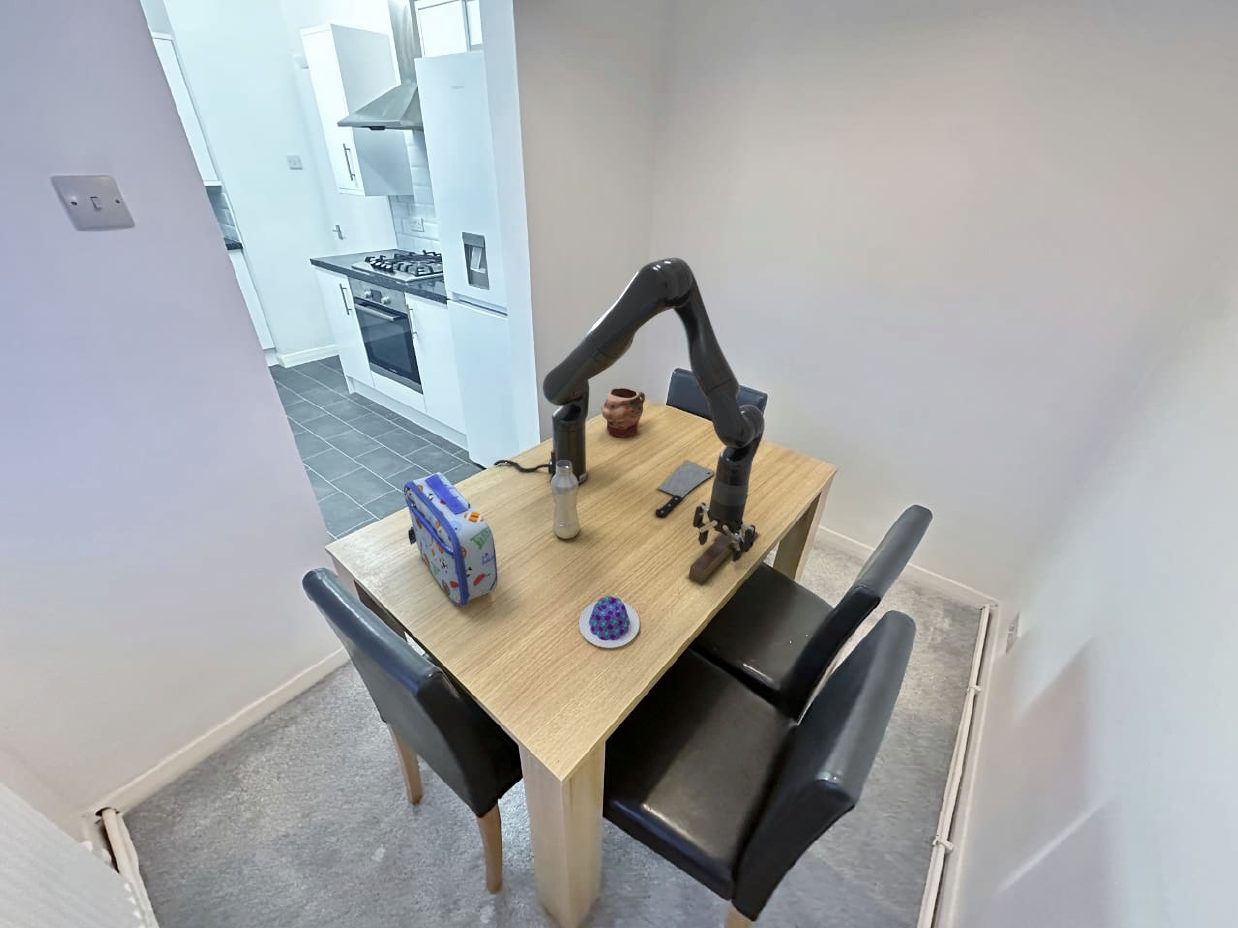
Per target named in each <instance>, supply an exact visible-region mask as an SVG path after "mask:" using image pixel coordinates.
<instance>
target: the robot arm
mask: <svg viewBox="0 0 1238 928" xmlns="http://www.w3.org/2000/svg"><path fill="white" fill-rule="evenodd" d="M669 310H673V311H674V313H675V315H676V316H677V317H678V319H679V321H680V323H681V325H682V327H683V331H684V334H685V338H686V339H685V341H686V346H687V354H688V355H687V356H688V362H689V366H690V369H691V372H692V375H693V377H694V379H695V381H696V383H697V385H698V387H699V389H700V391H701V393H702V394H703V397H704V398H705V400H706V401H707V406H708V411H709V415H710V418H711V422H712V426H713V428H714V429H713V430H714V432H715V434H716V436H717V438H718V440H720V442H721V443H722V444H723V445H724V446H725V447H724V448H723V449H722V450H721V452H720V454H719V455H718V458H717V464H716V469H715V476H714V479H713V482H712V488H711V494H710V500H709V507H708V506H707V504H706V502H703V501H702V502H701V503H699V504H698V505H697V506H696V507H695V511H694V516H693V520H692V527H693V528H697V529H698V531H699V532H698V539H697V540H698V542H699V545H700V546H704V545H705V544H706V543H707V542H708V536H709V532H710V531H709V530H711V529H714V531H715V532H717V533H722V534H723V535H725V536H727V535H728V537H729V540H730V542H732V543H733V544H734V547H735V549H734V550H733V554H732V558H731V561H732V562H733V563H736V562H739V560H740V559H741V558H742V557H743V552H744V553H748V552H749V551H750V550H751V549H752V548H754V547H753V546H754V541H755V538H754V536H755V532H756V525H754V524H751V525H748V524H745V523H744V521H743V518H744V514H745V509H746V505H747V500H748V497H749V489H750V477H751V473H752V469H753V462H754V459H755V456H756V454H757V452H758V449H759V447H760V445H761V441H762V438H763V436H764V432H765V427H766V425H765V416H764V414H763V412H762V411H761V410H760V409H759V407H757V406H756V405H752V404H743V405H740V406H739V402H738V399H737V396H738V395H739V393H740V391H741V386H740V385H741V384H740V383H739V381H738V379H737V377H736V375H735V373H734V371H733V369H732V367H731V365H730V362H729V361H728V360H727V357H726V355H725V353H724V352H723V350H722V348H721V345H720V343H719V341H718V339H717V336H716V333H715V331H714V329H713V325H712V323H711V320H710V316H709V314H708V311H707V308H706V305H705V302H704V300H703V297H702V293H701V290H700V287H699V284H698V281H697V279H696V276H695V274H694V272H693V270H692V268H691V267H690V265H689V264H688V263H687V262H686V261H685V260H684V259H682V258H679V257H667V258H664V259H659V260H654V261H651V262H649V263H646V264H645V265H644V266H642V267H641V268H640V269H639V270H638V271H637V272H636V273H635V275H634V276H633V278H632V279H631V281H630V282H629V284H628V285H627V286H626V288H625V289H624V291H623V292H622V293H621V295H620V296H619V298H617V301H616V302H615V303H614V304H613V305H612V306H611V307H610V308H609V309H608V310H607V311H606V312H605V313H604V314H603V315H602V316H601V318H599V320H598V321H597V322H596V323H594V325H593V326H592V327H591V328H590V329H589V330H588V332H587V333H586V334H585V335H584V336H583V337H582V338H581V340H580V341H579V342H578V343H577V344H576V346H574V348H573V349H572V350H571V351H570V352H569V354H568V355H567V356H566V357H565V358H564V359H563V360H562V361H561V362H560V363H558V365H556V366H555V367H554V368H552V369H551V370H550V371H548V372H547V374H546V375H545V376H544V378H543V381H542V386H541V387H542V394H543V397H544V398H545V401H547V402H548V403H549V404H551V405H553V406H557V409H555V411H554V412H552V414H551V417H550V419H551V422H550V423H551V440H552V449H551V451H550V459H549V461H548V463H542V464H538V465H536V466H535V467H521V465H520V464H519V463H518V462H515V461H513V460H508V459H500V460H497V461H496V462H494V463H493V466H495V467H496V466H498V465H500V464H507V465H512V466H515V467H516V468H517V469H518V470H519V471H521V472H527V473H529V472H535V471H538V470H539V469H542V468H547V472H548V474H551V479H552V478H553V477H554V475H555V474H556V463H557V462H558V461H561V460H567V461H570V462H571V463H572V469H573V471H572V473H573V474H574V475H575V477H576V478H577V480H578V485H580V484H582V483H584V482H585V481H586V479H587V449H586V448H587V443H586V442H587V441H586V440H587V439H586V437H587V436H586V432H587V431H586V422H587V421H586V420H587V418H588V416H589V403H590V382H589V380H591V379H592V378H594V377H596V376H598V375H600V374H601V373H603V372H604V371H606V370H608V369H609V368H611V367H612V366H613V365H615V363H617V362H618V361H619V360H620V359H621V358H622V357H623V356H624V355H625V354H627V352H628V351H629V349H630V348H631V347H632V346H633V345H632V344H633V341H634V339H635V335H636V333H637V332H638V331H639V330H640V329H641V328H642V327H643V326H644V325H646V323H648V322H649V321H650V320H652V319H653V318H654V317H656V316H658V315H659V314H661V313H664V312H665V311H669ZM505 462H507V463H505ZM705 515H706V516H707V518H708V521H707V522H703V520H704V516H705ZM740 529H742V530H743V535H744V536H745V538H744V540H743V538H742V532H741V530H740ZM733 533H735V535H733Z"/></svg>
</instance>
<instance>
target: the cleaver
mask: <svg viewBox="0 0 1238 928" xmlns="http://www.w3.org/2000/svg"><path fill="white" fill-rule="evenodd" d="M713 475H714V472H713V470H712V469H709V468H707V467H704V466H702V465H699V464H697V463H694V462H691V461H688V460H687V461H685V462H683V464H681V465H680V466H679V467H677V469H675V470H674V471H673V472H672V473H671V475H669V476H668V477H667V479H665V481H664V482H663V483H661V485H660V486H659V487H658V490H659V491H662V492H664V493H667V494H669V495H672V496H673V497H672V498H671V499H670V500H669V501H667V503H666V504H664V505H663V506H662V507H660V508H658V509H656V510H655V515H656V516H657V517H659V518H661V517H665V516H667V515H668V514H669V513H670V512H671V511H672V510H673V509H674V508H675V507H676V505H678V503H679V502H681V501H682V500H683V498H685V496H687V494H688V493H689V492H691V491H692V490H693V489H694V488H696V487H698V486H699V485H700V484H701V483H703V482H705V481H706V480H708V479H709V478H711V477H712V476H713Z"/></svg>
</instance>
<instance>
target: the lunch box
mask: <svg viewBox="0 0 1238 928" xmlns="http://www.w3.org/2000/svg"><path fill="white" fill-rule="evenodd" d="M403 494H404V498H405V502H406V505H407V508H408V511H409V514H410V518H411V523H412V526H411V527H410V528H409V530H408V531H407V532H408V533H407V534H408V540H409V544H410V546H412V545H414V544H416V546H417V549H418V551H419V553H420V555H421V557H422V559H423V561H424V562H425V564H426V565H427V566H428V568H429V570H430V572H431V573H432V576H433V577H434V578H435V580H436V581H437V583H438V585H439V586H440V587H441V589H442V590H443V591H444V593H445V595H446V596H447V597H448V599H449V600H450V601H451V602H452V603H453V604H454V605H456V606H458V607H465V606H467V605H468V602H469V601H471V600H474V599H476V598H479V597H481V596H482V597H483V596H484V595H487V594H490V593H491V592H494V591H495V590H496V589H497V586H498V564H497V554H496V546H495V545H496V544H495V540H494V535H493V532H492V530H491V528H490V526H489V524H488V522H487V521H486V519H485V518H484V517H483V516H482V515H481V513H480V512H478V510H476V508H474V507H473V506H472V505H471V503H470V502H469V501H468V500H467V499H466V498H465V497H464V496H463V494H461V492H460V491H459V490H458V489H457V488H456V487H455V486H454V485H453V484H452V483H451V482H450V480H449V479H447V477H446V476H445V475H444V474H443V473H442V472H441V471H437V472H435V473H433V474H430V475H427V476H425V477H421V478H418V479H413V480H412V481H407V482H405V484H404V487H403Z"/></svg>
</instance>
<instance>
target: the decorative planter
mask: <svg viewBox="0 0 1238 928" xmlns="http://www.w3.org/2000/svg"><path fill="white" fill-rule="evenodd" d="M645 400H646V394H645V393H644V392H643V391H639V390H638V391H637V390H634V389H631V388H626V387H618V388H612V389H611V390H610V391H609V392H608V393H607V395H606V399H605V401H604V403H603V404H602V405H601V407H600V408H601V409H600V410H601V415H602V417H603V418H604V419H605V420H606V430H607V432H608V433H609V434H610V435H613V436H616V437H620V438H625V437H627V438H628V437H630V436H632V435H635V433H636V432H637V430H638V428H639V423H640V419H641V417H642V415H643V412H644V403H645Z"/></svg>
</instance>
